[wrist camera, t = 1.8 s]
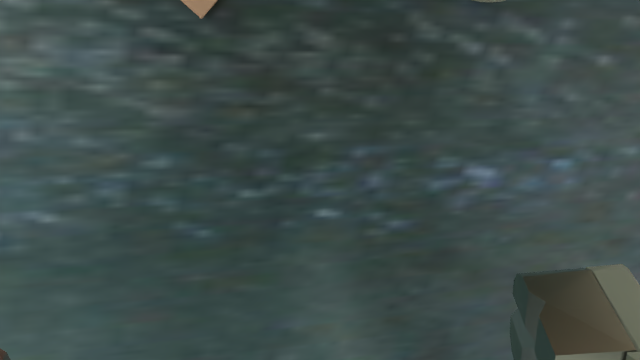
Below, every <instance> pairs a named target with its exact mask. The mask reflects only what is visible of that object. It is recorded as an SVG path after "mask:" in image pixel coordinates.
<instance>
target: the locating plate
mask: <svg viewBox="0 0 640 360" xmlns="http://www.w3.org/2000/svg"><path fill="white" fill-rule="evenodd" d="M181 1H182V2H183V3H184V4H185V5H186V6H188V7H189V8H190V9H191V10H192V11H193V12H194V13H195V14H197V15H198V16H199V17H200V18H201V19H202V18H203V17H204V16H205V15H206V14H207V13H208V11H209V10H210V9H211V8H212V7H213V5H214V4H215V3H216V2H217V1H218V0H181Z"/></svg>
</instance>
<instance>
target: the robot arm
mask: <svg viewBox="0 0 640 360" xmlns="http://www.w3.org/2000/svg"><path fill="white" fill-rule="evenodd" d="M513 296H514V299H515V301H516V304H517V307H518V309H517V310H516V311H515V312H514V313H513V314H512V315H511V319H510V339H511V350H512V354H513V358H514V360H640V285H639V284H638V282H637V281H636V279H635V278H634V276H633V275H632V273H631V272H630V270H629V269H628V268H627V267H625V266H624V265H622V264H617V265H606V266H595V267H586V268H577V269H565V270H553V271H542V272H530V273H518V274H516V277H515V279H514V285H513ZM0 360H10V358H9V356H8V354H7V352H5V351H4V350H2V349H0Z"/></svg>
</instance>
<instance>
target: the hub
mask: <svg viewBox="0 0 640 360" xmlns="http://www.w3.org/2000/svg"><path fill="white" fill-rule="evenodd" d="M473 1H479V2H499V1H504V0H473Z"/></svg>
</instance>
